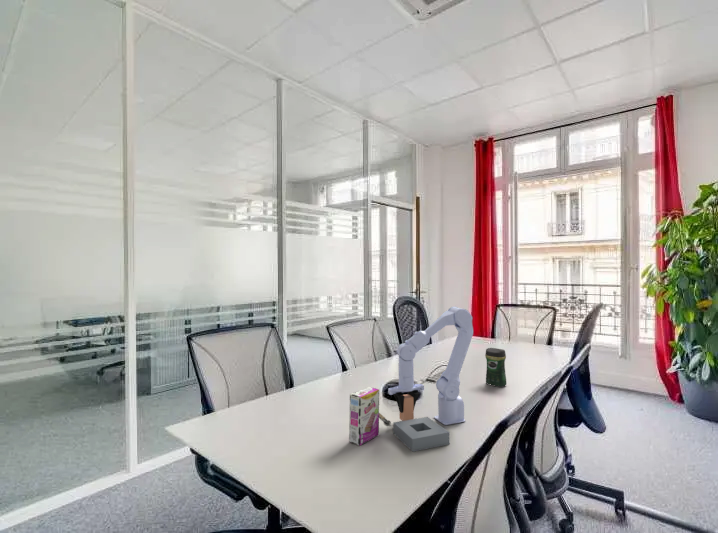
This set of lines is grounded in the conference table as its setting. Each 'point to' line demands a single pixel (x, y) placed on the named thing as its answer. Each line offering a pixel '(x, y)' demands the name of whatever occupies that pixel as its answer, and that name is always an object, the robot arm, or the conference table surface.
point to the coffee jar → (495, 367)
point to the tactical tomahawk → (384, 419)
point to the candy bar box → (364, 415)
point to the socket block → (420, 433)
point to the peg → (407, 408)
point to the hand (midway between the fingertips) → (406, 410)
